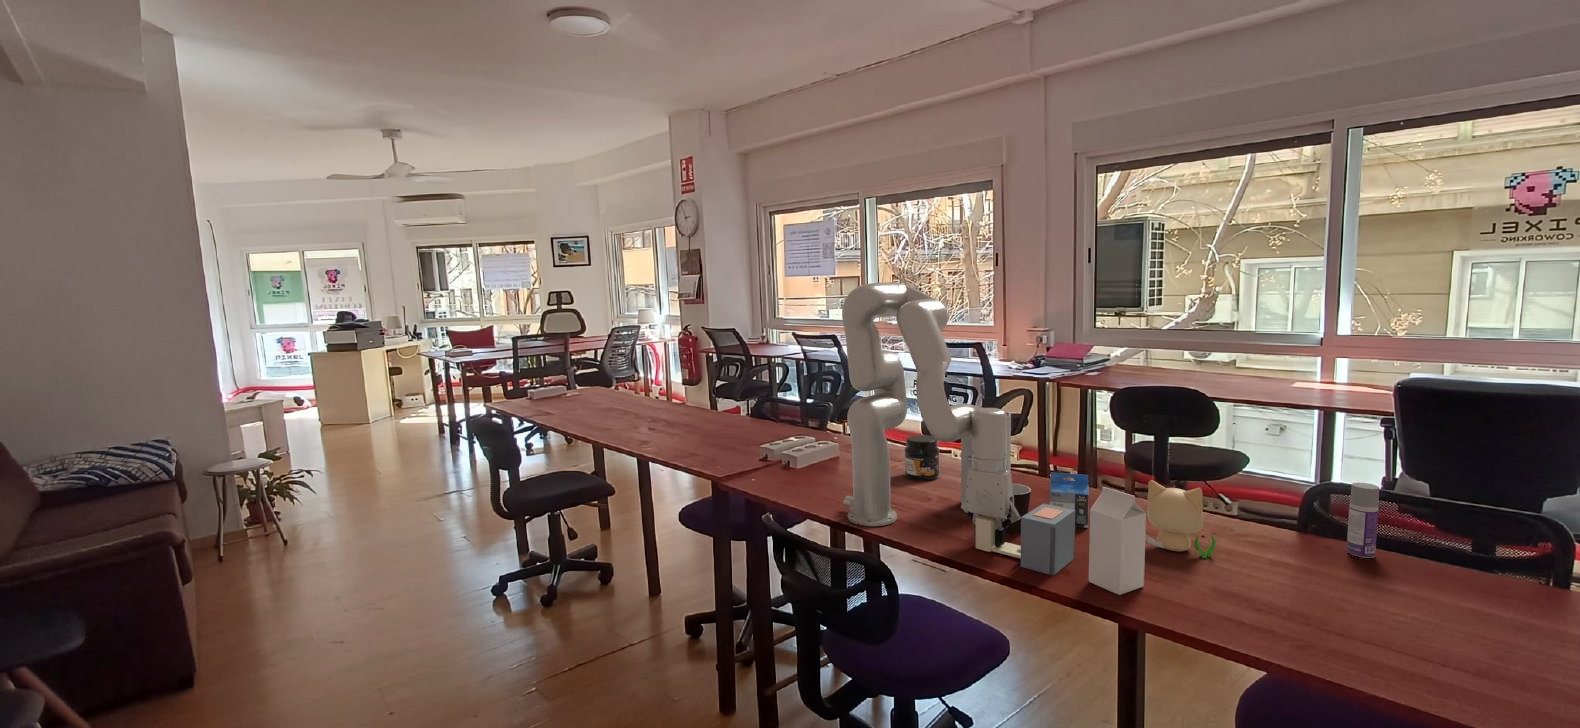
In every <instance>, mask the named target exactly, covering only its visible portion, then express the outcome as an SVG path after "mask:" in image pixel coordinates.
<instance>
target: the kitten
mask: <svg viewBox="0 0 1580 728" xmlns="http://www.w3.org/2000/svg"><path fill="white" fill-rule="evenodd" d="M1147 488H1148V489H1147V490H1148V492H1147V503H1148V504H1147V508H1146V518H1147V519H1148V521H1149V523H1150V524H1151V525H1152V526H1154V527H1156V528H1157V529H1159V530H1160V532H1159V533H1158V534H1157V537H1156V539H1155V538H1154V537H1151V536H1150V535H1148V534H1147V533H1145V542H1147V543H1149V544H1150V545H1152V546H1155V547H1158V548H1161V549H1165V550H1168V551H1170V552H1171V551H1172V552H1185V551H1188V550H1189V549H1190V548H1191V546H1192V540H1191V537H1190V535H1189V534H1195V533H1198V532H1200V530H1201V529H1202V528H1203V526H1204V521H1205V518H1204V513H1203V509H1204V506H1203V505H1204V504H1203V495H1204V494H1203V491H1202V488H1201V487H1197V488H1193V489H1189V490H1185V489H1181V488H1178V487H1177V488H1176V487H1165V486H1163V485H1161V484H1159V483H1158V482H1156V481H1155V480H1153V479H1151V480H1149V481H1148V484H1147ZM1210 537H1211V544H1210V545H1209V547H1208V548H1207V550H1206V552H1205V551H1204V550H1203V549H1202V548H1201V547H1200V544H1199V535H1197V536H1196V537H1195V539H1194V542H1193V543H1194V544H1193V545H1194V548H1195V550H1196V551H1197V552H1198V553H1199V556H1200V555H1201V556H1202V557H1201V558H1202V559H1207V558H1209V557H1211V558H1212V556H1211V554H1212V553H1213V551H1214V549H1215V547H1216V544H1217V541H1216V538H1215V536H1214V535H1213V534H1212V533H1211V536H1210ZM1212 555H1213V554H1212ZM1207 556H1209V557H1207Z"/></svg>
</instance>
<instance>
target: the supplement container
mask: <svg viewBox="0 0 1580 728" xmlns="http://www.w3.org/2000/svg"><path fill="white" fill-rule="evenodd" d="M938 443H939V441H938V440H936V439H935V438H934V437H933V436H932V435H928V434H927V435H926V434H917V435H916V434H915V435H910V436H907V437H906V438H905V445H906V446H905V447H904V475H905V477H907V478H908V479H909V480H912V479H913V481H918V480H928V481H934V480H936V479H937V478H939V477H940V448H939V446H938V445H939V444H938Z"/></svg>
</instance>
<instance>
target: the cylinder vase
mask: <svg viewBox="0 0 1580 728" xmlns="http://www.w3.org/2000/svg"><path fill="white" fill-rule="evenodd" d="M1004 411H1005V413H1006V415H1007V470H1009V471H1010V474H1011V472H1012V471H1011V470H1012V469H1011V466H1012V465H1011V464H1012V463H1011V457H1012V454H1011V451H1012V449H1011V448H1012V446H1011V445H1012V443H1011V441H1012V439H1011V438H1012V437H1011V435H1012V427H1011V426H1012V414H1011V412H1009V411H1006V410H1004ZM960 440H961V441H960V447H961V448H960V450H961V451H960V452H961V453H960V457H961V459H960V460H961V463H960V464H961V466H960V469H961V470H960V473H961V475H960V477H961V478H960V481H961V483H960V484H961V488H960V489H961V505H962V504H963V502H964V501H965V489H966V480H967V475H968V470H969V468H971V467H972V462H970V461H968V460H967V457H968V456H972V435H971V436H967V437H963V438H961V439H960Z"/></svg>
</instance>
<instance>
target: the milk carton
mask: <svg viewBox="0 0 1580 728" xmlns="http://www.w3.org/2000/svg"><path fill="white" fill-rule="evenodd" d="M1146 523H1147V511H1145V510H1144V509H1143V508H1142V507H1141V506H1140V505H1139V504H1138V502H1136V496H1135V495H1132V494H1129V493H1126V492H1122V491H1120V490H1116V489H1113V488H1109V487H1105V486H1102V489H1101V493H1100V494H1099V496H1098V497H1097V498H1096V500H1095V502H1094V503H1093V505H1092V506H1091V507H1090V509H1089V539H1088V540H1089V541H1088V542H1089V543H1088V544H1089V549H1088V550H1089V551H1088V553H1089V554H1088V582H1089V583H1091V584H1093V585H1095V586H1097V587H1100V588H1102V589H1105V590H1107V591H1109V592H1111V593H1114V594H1116V595H1119V596H1121V595H1124V594H1126V593H1129V592H1131V591H1135V590H1138V589H1140V588H1143V587H1144V586H1145V565H1146V564H1145V558H1146V556H1145V555H1146V554H1145V553H1146V541H1145V533H1146V530H1147V528H1146V527H1147V525H1146ZM1146 534H1147V533H1146Z"/></svg>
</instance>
